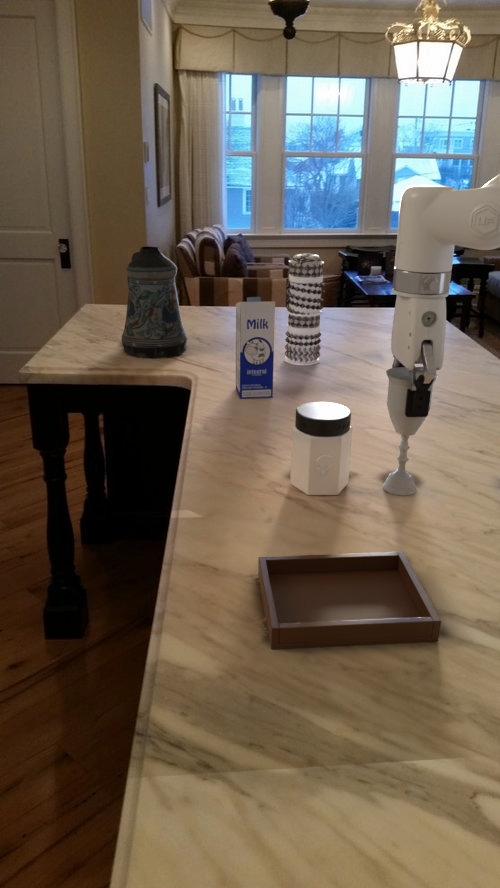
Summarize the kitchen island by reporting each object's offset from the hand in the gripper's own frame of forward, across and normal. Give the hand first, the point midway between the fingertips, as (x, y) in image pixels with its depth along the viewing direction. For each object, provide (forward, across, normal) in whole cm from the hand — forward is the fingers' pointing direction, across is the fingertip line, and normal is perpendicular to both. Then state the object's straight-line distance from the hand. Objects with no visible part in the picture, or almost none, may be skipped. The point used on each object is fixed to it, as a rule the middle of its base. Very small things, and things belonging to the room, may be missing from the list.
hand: (408, 406), depth 102 cm
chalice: (+13, 0, 0) cm, 13 cm away
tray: (+13, -29, +15) cm, 35 cm away
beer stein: (+13, +82, +41) cm, 93 cm away
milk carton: (+13, +46, +18) cm, 51 cm away
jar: (+13, +2, +12) cm, 18 cm away
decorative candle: (+13, +70, +4) cm, 71 cm away
